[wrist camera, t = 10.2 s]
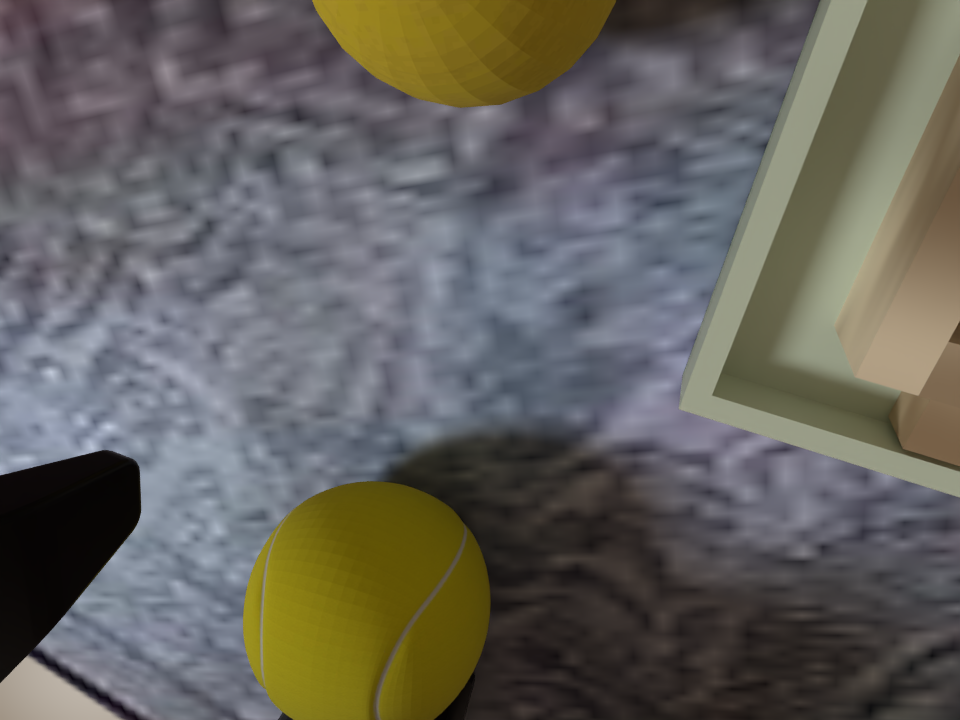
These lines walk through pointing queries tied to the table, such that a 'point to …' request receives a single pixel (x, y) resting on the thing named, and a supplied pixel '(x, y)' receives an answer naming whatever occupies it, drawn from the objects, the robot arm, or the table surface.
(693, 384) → the tray
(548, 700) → the table surface
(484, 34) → the lemon
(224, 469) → the table surface
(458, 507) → the table surface
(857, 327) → the wooden rectangular frame
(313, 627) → the tennis ball
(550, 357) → the table surface
